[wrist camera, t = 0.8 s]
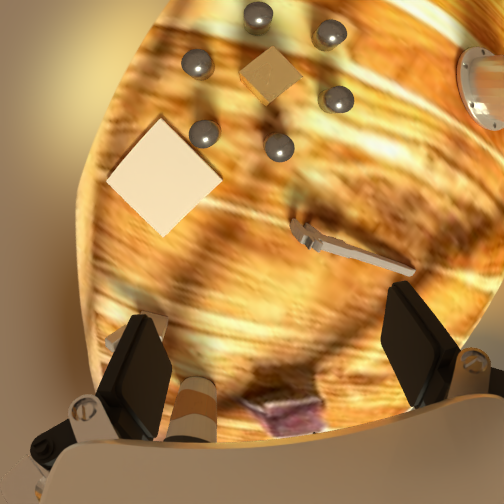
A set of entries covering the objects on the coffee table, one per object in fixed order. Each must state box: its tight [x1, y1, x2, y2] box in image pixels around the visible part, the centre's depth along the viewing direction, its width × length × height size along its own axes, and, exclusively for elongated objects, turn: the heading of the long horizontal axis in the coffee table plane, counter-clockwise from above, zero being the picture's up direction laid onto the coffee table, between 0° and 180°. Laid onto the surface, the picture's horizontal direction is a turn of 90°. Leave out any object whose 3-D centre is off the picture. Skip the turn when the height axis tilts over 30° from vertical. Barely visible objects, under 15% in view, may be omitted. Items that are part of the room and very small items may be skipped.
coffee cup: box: [163, 377, 217, 443], centre depth 40 cm, size 8×8×15 cm
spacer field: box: [181, 2, 354, 162], centre depth 26 cm, size 20×15×4 cm
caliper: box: [289, 218, 416, 276], centre depth 34 cm, size 20×1×6 cm, turn 69°
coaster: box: [106, 118, 223, 237], centre depth 32 cm, size 10×10×1 cm
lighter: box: [105, 311, 168, 352], centre depth 37 cm, size 7×2×8 cm, turn 76°
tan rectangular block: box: [239, 46, 303, 107], centre depth 25 cm, size 4×4×6 cm
